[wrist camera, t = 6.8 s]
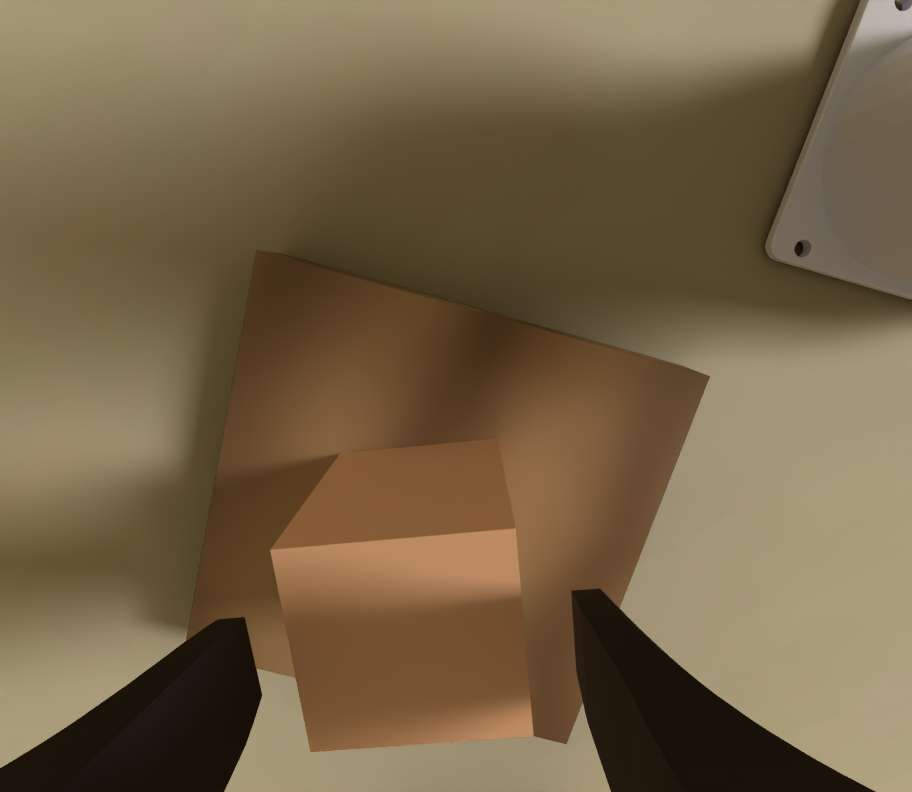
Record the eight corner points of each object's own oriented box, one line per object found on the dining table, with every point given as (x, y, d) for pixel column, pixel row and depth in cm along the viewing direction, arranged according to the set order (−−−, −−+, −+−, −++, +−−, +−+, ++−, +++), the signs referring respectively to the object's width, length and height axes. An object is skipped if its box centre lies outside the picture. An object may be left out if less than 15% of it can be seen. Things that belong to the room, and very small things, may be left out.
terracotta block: (497, 438, 16) (515, 528, 10) (510, 580, 17) (533, 736, 11) (340, 453, 16) (270, 549, 10) (362, 593, 17) (310, 751, 12)
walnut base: (682, 365, 18) (709, 376, 16) (556, 700, 21) (566, 744, 19) (280, 253, 17) (256, 250, 15) (211, 614, 20) (184, 650, 18)
